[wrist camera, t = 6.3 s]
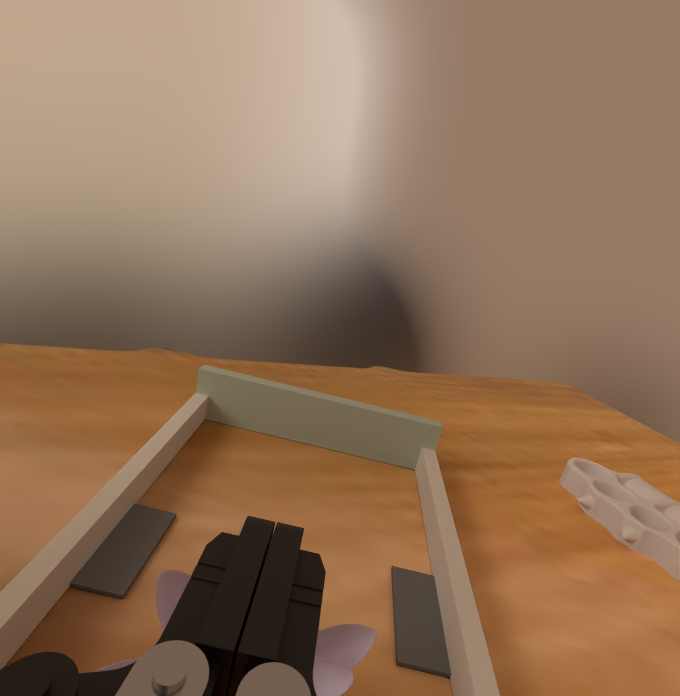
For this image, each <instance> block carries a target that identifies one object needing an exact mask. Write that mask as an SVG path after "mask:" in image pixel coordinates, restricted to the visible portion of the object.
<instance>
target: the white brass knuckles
mask: <svg viewBox="0 0 680 696" xmlns="http://www.w3.org/2000/svg"><path fill="white" fill-rule="evenodd" d="M560 484H561V486H562V487H564V488H565V489H567V490H568V491H569V492H571V493H572V494H573V495H574V496H575V497H576V499H577V500H576V501H578V503H579V506H580V507H581V508H582V509H583V510H584V511H585V513H586V514H587V515H588V516H589V517H591V518H593V519H594V520H596V521H597V522H599V523H600V524H602V525H603V526H604V527H605V528H607V529H608V530H609V531H610V533H611V534H612V535H613V537H614V538H615V539H617V540H618V541H620V542H621V543H623V544H624V545H626V546H627V547H629V548H630V549H632V550H633V551H635V552H638V553H640V554H642V555H644V556H646V557H648V558H649V559H651V560H653V561H654V562H656V563H657V564H658V565H660V566H661V567H662V568H663V569H665V570H666V571H667V572H668V573H669V574H670V575H671V576H672V577H673V578H675V579H677V580H679V581H680V503H679V502H678V501H675V500H673V499H671V498H670V497H668V496H667V495H665V494H664V493H662V492H661V491H659V490H658V489H656V488H655V487H653V486H652V485H650V484H649V483H647V482H646V481H644V480H643V479H642V478H641V477H640V476H639V475H637V474H633V473H618V472H615V471H612V470H609V469H607V468H606V467H604V466H602V465H600V464H598V463H595V462H593V461H590V460H587V459H582V458H571V459H569V460H568V462H567V464H566V466H565V469H564V471H563V473H562V475H561V478H560Z"/></svg>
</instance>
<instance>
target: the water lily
mask: <svg viewBox="0 0 680 696" xmlns="http://www.w3.org/2000/svg"><path fill="white" fill-rule="evenodd" d="M190 578H191V575H189V574H186V573H183V572H180V571H175V570H165V571H162V572H161V573H160V575H159V577H158V581H157V587H156V603H157V610H158V614H159V618H160V621H161V625H162V627H163V629H165V627H166V625H167V623H168V621H169V619H170V617H171V615H172V613H173V611H174V609H175V607H176V605H177V603H178V601H179V599H180V597H181V595H182V593H183V591H184V589H185V587H186V585H187V583H188V581H189V580H190ZM376 635H377V633H376V631H375V630H373V629H372V628H370V627H367V626H364V625H359V624H345V625H337V626H333V627H329V628H325V629H322V630H319V631H318V635H317V643H316V651H315V659H314V667H313V684H314V688H315V692H316V694H317V696H341V695H342V694H343V693H344V692H345V691H346V690H347V689H348V688H349V687H350V686H351V684H352V683H353V680H354V675H353V673H352V672H351V671H350V669H351V668H353V667H354V666H355V665H357V664H358V663H359V662H360V661H361V660H362V659H363V658H364V657H365V656H366V654H367V653H368V652H369V650H370V649H371V647H372V646H373V644H374V642H375V639H376ZM138 659H139V658H134V659H129V660H125V661H121V662H118V663H114V664H111V665H108V666H106V667H103V668H101V669H99V670H97V671H95V672H98V671H107V670H113V669H118V668H122V667H125V666H127V665H130V664H132V663H134V662H136V661H137V660H138Z"/></svg>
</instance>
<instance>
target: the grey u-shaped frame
mask: <svg viewBox="0 0 680 696" xmlns="http://www.w3.org/2000/svg"><path fill="white" fill-rule="evenodd" d="M205 419H206V420H210V421H214V422H218V423H222V424H227V425H231V426H235V427H239V428H243V429H247V430H252V431H256V432H260V433H264V434H268V435H272V436H276V437H281V438H285V439H289V440H293V441H297V442H301V443H305V444H310V445H314V446H318V447H322V448H326V449H330V450H334V451H339V452H343V453H347V454H351V455H355V456H359V457H364V458H368V459H372V460H376V461H380V462H384V463H388V464H393V465H397V466H401V467H405V468H409V469H413V470H415V473H416V479H417V485H418V491H419V497H420V503H421V509H422V515H423V521H424V527H425V533H426V539H427V545H428V551H429V556H430V562H431V568H432V574H433V576H432V575H428V574H423V573H419V572H415V571H411V570H407V569H403V568H399V567H394V566H392V569H391V571H392V589H393V608H394V626H395V644H396V663H397V665H399V666H403V667H407V668H411V669H416V670H420V671H424V672H428V673H432V674H436V675H441V676H445V677H449V678H450V682H451V688H452V694H453V696H500V693H499V689H498V686H497V682H496V678H495V674H494V671H493V667H492V663H491V659H490V655H489V652H488V648H487V644H486V640H485V637H484V633H483V629H482V625H481V622H480V618H479V614H478V610H477V607H476V603H475V599H474V595H473V592H472V588H471V584H470V580H469V577H468V573H467V569H466V565H465V561H464V558H463V554H462V550H461V546H460V543H459V539H458V535H457V531H456V528H455V524H454V520H453V516H452V513H451V509H450V505H449V501H448V498H447V494H446V490H445V486H444V482H443V479H442V475H441V471H440V467H439V464H438V460H437V456H436V452H435V449H436V446H437V443H438V440H439V437H440V434H441V432H442V429H443V427H442V424H441V422H440V421H436V420H432V419H428V418H424V417H420V416H415V415H411V414H407V413H403V412H399V411H395V410H391V409H386V408H382V407H378V406H374V405H370V404H366V403H362V402H357V401H353V400H349V399H345V398H341V397H337V396H333V395H328V394H324V393H320V392H316V391H312V390H308V389H304V388H299V387H295V386H291V385H287V384H283V383H279V382H275V381H270V380H266V379H262V378H258V377H254V376H250V375H246V374H241V373H237V372H233V371H229V370H225V369H221V368H216V367H212V366H208V365H203V366H202V367H201V368H199V373H198V380H197V387H196V393H195V394H194V395H193V396H192V397H191V398H190V399H189V400H188V401H187V402H186V403H185V404H184V405H183V406H182V407H181V408H180V409H179V410H178V411H177V412H176V413H175V414H174V415H173V417H172V418H171V419H170V420H169V421H168V422H167V423H166V424H165V425H164V426H163V427H162V428H161V429H160V430H159V431H158V432H157V433H156V434H155V435H154V436H153V437H152V438H151V439H150V440H149V441H148V442H147V443H146V444H145V445H144V446H143V447H142V448H141V449H140V450H139V451H138V452H137V453H136V454H135V455H134V456H133V457H132V458H131V459H130V460H129V461H128V462H127V463H126V464H125V465H124V466H123V467H122V468H121V469H120V470H119V471H118V473H117V474H116V475H115V476H114V477H113V478H112V479H111V480H110V481H109V482H108V483H107V484H106V485H105V486H104V487H103V488H102V489H101V490H100V491H99V492H98V493H97V494H96V495H95V496H94V497H93V498H92V499H91V500H90V501H89V502H88V503H87V504H86V505H85V506H84V507H83V508H82V509H81V510H80V511H79V512H78V513H77V514H76V515H75V516H74V517H73V518H72V519H71V520H70V521H69V522H68V523H67V524H66V525H65V526H64V527H63V528H62V530H61V531H60V532H59V533H58V534H57V535H56V536H55V537H54V538H53V539H52V540H51V541H50V542H49V543H48V544H47V545H46V546H45V547H44V548H43V549H42V550H41V551H40V552H39V553H38V554H37V555H36V556H35V557H34V558H33V559H32V560H31V561H30V562H29V563H28V564H27V565H26V566H25V567H24V568H23V569H22V570H21V571H20V572H19V573H18V574H17V575H16V576H15V577H14V578H13V579H12V580H11V581H10V582H9V583H8V584H7V585H6V587H5V588H4V589H3V590H2V591H1V592H0V669H2V668H4V666H5V665H6V664H7V663H8V661H9V660H10V659H11V658H12V656H13V655H14V654H15V653H16V652H17V650H18V649H19V648H20V647H21V645H22V644H23V643H24V642H25V640H26V639H27V638H28V637H29V635H30V634H31V633H32V632H33V631H34V629H35V628H36V627H37V626H38V624H39V623H40V622H41V621H42V619H43V618H44V617H45V616H46V615H47V613H48V612H49V611H50V610H51V608H52V607H53V606H54V605H55V603H56V602H57V601H58V600H59V599H60V597H61V596H62V595H63V594H64V592H65V591H66V590H67V589H68V587H69V586H71V587H75V588H79V589H83V590H87V591H91V592H96V593H100V594H104V595H108V596H112V597H116V598H121V599H123V598H124V596H125V595H126V593H127V592H128V590H129V589H130V587H131V586H132V584H133V582H134V581H135V579H136V578H137V576H138V575H139V573H140V572H141V570H142V569H143V567H144V565H145V564H146V562H147V561H148V559H149V558H150V556H151V555H152V553H153V551H154V550H155V548H156V547H157V545H158V544H159V542H160V541H161V539H162V538H163V536H164V534H165V533H166V531H167V530H168V528H169V527H170V525H171V524H172V522H173V521H174V519H175V517H176V514H174V513H170V512H166V511H162V510H158V509H154V508H149V507H145V506H141V505H137V502H138V501H139V500H140V499H141V497H142V496H143V495H144V494H145V493H146V491H147V490H148V489H149V488H150V486H151V485H152V484H153V483H154V481H155V480H156V479H157V478H158V477H159V475H160V474H161V473H162V472H163V470H164V469H165V468H166V467H167V465H168V464H169V463H170V462H171V461H172V459H173V458H174V457H175V456H176V454H177V453H178V452H179V451H180V449H181V448H182V447H183V446H184V444H185V443H186V442H187V441H188V440H189V438H190V437H191V436H192V435H193V433H194V432H195V431H196V430H197V428H198V427H199V426H200V425H201V424H202V422H203V421H204V420H205Z"/></svg>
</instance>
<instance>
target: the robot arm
mask: <svg viewBox="0 0 680 696" xmlns="http://www.w3.org/2000/svg"><path fill="white" fill-rule="evenodd" d="M274 527H275V522H274V521H269V520H265V519H260V518H256V517H251V516H248V517H247V519H246V521H245V523H244V526H243V528H242V531H241V533H240V535H239V536H237V535H232V534H228V533H224V532H222V533H220V534H219V535H218V536H217V537H216V538H214V539H213V540H212V541H211V542H210V543H208V544H207V545H206V547H205V549H204V551H203V553H202V555H201V557H200V559H199V561H198V564H197V566H196V567H195V569H194V571H193V573H192V575H191V578H190V580H189V581H188V583H187V585H186V587H185V589H184V591H183V593H182V595H181V597H180V599H179V601H178V603H177V605H176V607H175V609H174V611H173V613H172V615H171V617H170V619H169V621H168V623H167V625H166V627H165V629H164V631H163V633H162V635H161V637H160V639H159V641H158V642H157V643H156V645H155V646H154V647H152V648H150V649H149V650H147V651H146V652H145V653H144V654H143V655H142V656H141V657H140V658H139V659H138V660H137V661H136V662H134V663H132V664H130V665H127V666H125V667H122V668H118V669H113V670H107V671H98V672H89V673H81V674H79V673H78V669H77V666H76V664H75V663H74V661H73V660H71V659H70V658H69V657H68V656H66V655H64V654H60V653H56V652H42V653H37V654H33V655H30V656H27V657H24V658H22V659H20V660H18V661H16V662H14V663H12V664H10V665H8V666H6V667H4V668H2V669H0V696H317V694H316V692H315V688H314V684H313V667H314V659H315V651H316V643H317V635H318V627H319V620H320V612H321V604H322V596H323V588H324V580H325V569H324V566H323V563H322V560H321V557H320V554H317V553H313V552H308V551H304V550H300V545H301V541H302V536H303V531H304V528H301V527H296V526H292V525H287V524H283V523H279V522H277V524H276V528H275V531H274ZM273 532H274V534H273Z"/></svg>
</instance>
